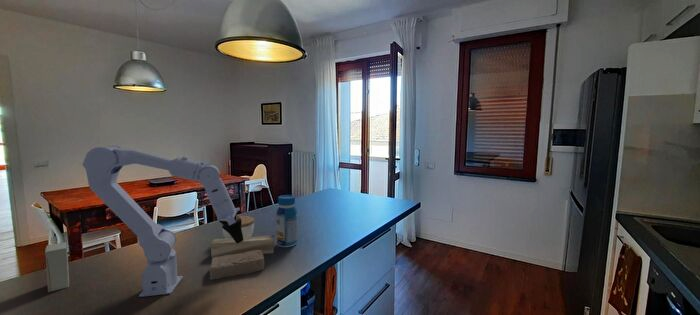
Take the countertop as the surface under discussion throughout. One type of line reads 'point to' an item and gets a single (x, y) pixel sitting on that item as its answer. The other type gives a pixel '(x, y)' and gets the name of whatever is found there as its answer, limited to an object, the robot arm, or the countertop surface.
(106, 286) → the countertop surface
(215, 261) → the brick
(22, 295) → the countertop surface
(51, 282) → the skincare box
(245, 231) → the white round tub
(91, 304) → the countertop surface
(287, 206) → the beverage bottle
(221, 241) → the batten
